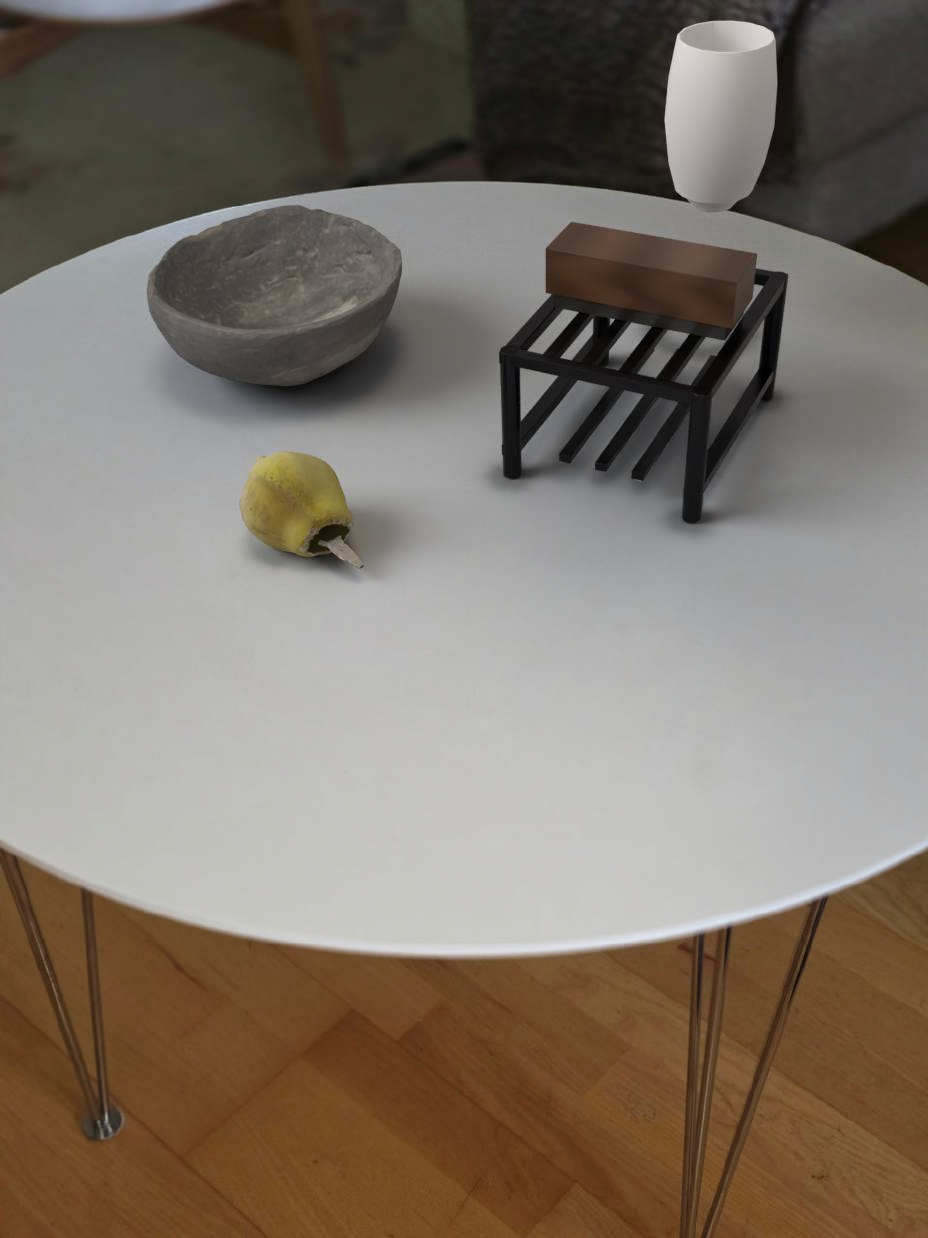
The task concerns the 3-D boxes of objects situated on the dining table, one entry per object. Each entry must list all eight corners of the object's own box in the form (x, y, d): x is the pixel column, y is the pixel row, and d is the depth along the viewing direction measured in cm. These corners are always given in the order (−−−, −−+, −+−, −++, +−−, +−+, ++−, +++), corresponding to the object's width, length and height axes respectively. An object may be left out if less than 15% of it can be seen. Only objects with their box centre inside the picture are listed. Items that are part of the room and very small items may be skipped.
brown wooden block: (751, 313, 84) (757, 253, 81) (730, 344, 81) (736, 282, 78) (570, 279, 88) (571, 221, 85) (545, 307, 85) (545, 247, 83)
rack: (775, 394, 93) (790, 272, 87) (697, 525, 83) (708, 397, 77) (595, 356, 98) (598, 239, 92) (499, 476, 87) (496, 352, 81)
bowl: (201, 454, 91) (180, 347, 85) (137, 337, 103) (115, 238, 98) (449, 387, 96) (443, 282, 91) (359, 283, 108) (349, 185, 103)
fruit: (324, 607, 78) (206, 523, 82) (392, 579, 83) (277, 500, 87) (345, 522, 75) (222, 439, 79) (414, 497, 80) (294, 420, 84)
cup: (665, 356, 98) (684, 59, 84) (642, 308, 103) (657, 22, 90) (764, 346, 98) (799, 49, 85) (736, 299, 104) (764, 13, 90)
